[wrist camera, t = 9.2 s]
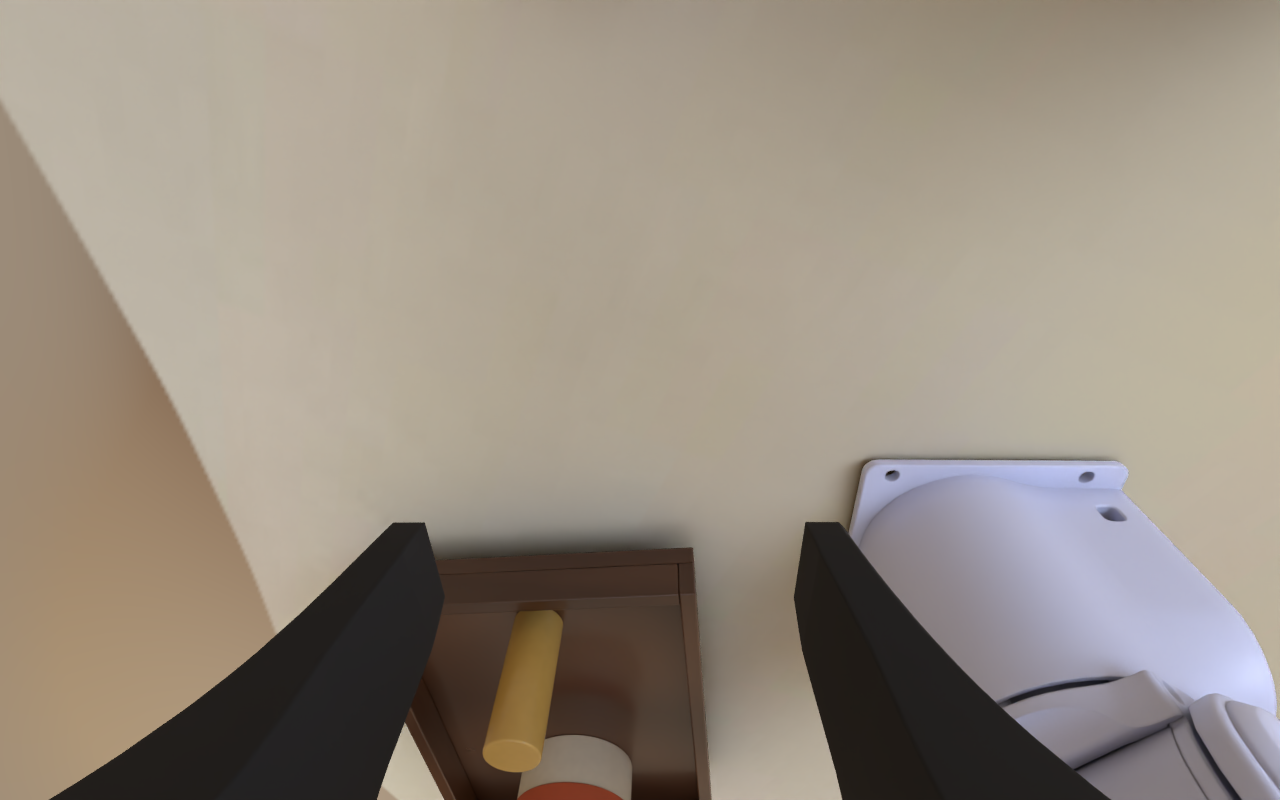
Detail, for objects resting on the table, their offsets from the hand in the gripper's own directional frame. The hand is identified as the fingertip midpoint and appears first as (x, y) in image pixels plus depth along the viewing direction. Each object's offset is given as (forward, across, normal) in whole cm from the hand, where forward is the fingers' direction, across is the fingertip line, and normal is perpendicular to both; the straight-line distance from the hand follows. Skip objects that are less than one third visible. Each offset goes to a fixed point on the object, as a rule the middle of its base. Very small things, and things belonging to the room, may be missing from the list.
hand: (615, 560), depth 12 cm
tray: (+9, +4, +18) cm, 21 cm away
